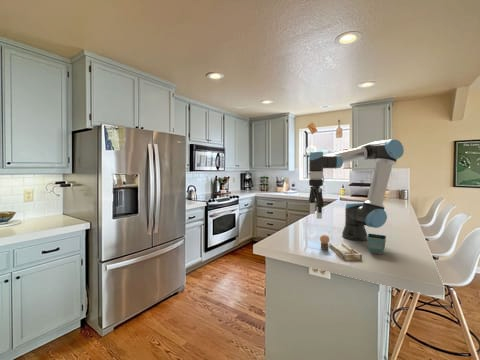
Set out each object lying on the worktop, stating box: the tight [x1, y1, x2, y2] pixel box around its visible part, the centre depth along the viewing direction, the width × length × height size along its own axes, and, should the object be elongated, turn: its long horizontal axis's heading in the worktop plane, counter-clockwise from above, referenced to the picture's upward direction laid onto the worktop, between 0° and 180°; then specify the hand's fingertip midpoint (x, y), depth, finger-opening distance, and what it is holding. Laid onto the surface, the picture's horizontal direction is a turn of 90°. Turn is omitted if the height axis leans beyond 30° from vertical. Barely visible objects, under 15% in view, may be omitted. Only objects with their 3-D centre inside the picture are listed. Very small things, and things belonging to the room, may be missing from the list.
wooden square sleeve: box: [320, 241, 329, 251], centre depth 138 cm, size 3×3×4 cm
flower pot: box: [366, 232, 387, 255], centre depth 133 cm, size 9×9×9 cm
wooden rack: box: [335, 248, 363, 261], centre depth 127 cm, size 9×9×3 cm
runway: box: [328, 242, 353, 254], centre depth 137 cm, size 8×12×2 cm, turn 0°
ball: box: [319, 234, 330, 244], centre depth 138 cm, size 5×5×5 cm
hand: (315, 216), depth 140 cm, fingers open, 13 cm apart
